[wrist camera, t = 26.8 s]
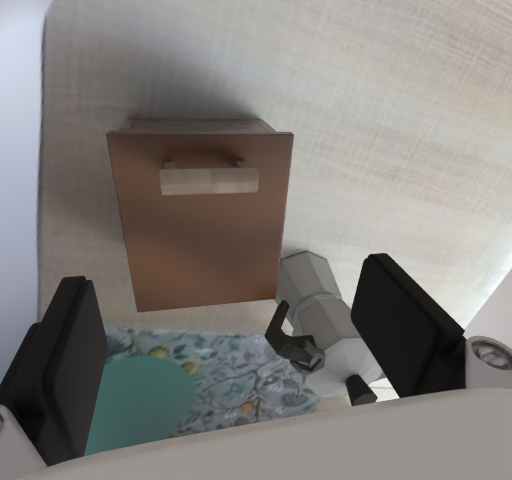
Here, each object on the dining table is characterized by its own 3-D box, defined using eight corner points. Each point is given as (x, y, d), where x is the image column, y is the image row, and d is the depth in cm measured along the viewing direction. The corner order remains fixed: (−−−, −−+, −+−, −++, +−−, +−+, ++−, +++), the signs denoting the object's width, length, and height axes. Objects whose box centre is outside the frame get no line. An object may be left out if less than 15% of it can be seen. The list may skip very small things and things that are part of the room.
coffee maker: (354, 268, 45) (446, 383, 30) (318, 315, 48) (384, 441, 33) (261, 228, 39) (317, 347, 23) (226, 285, 42) (256, 422, 27)
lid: (107, 130, 22) (93, 151, 18) (291, 131, 24) (312, 149, 21) (138, 306, 30) (132, 346, 26) (273, 293, 32) (287, 328, 28)
